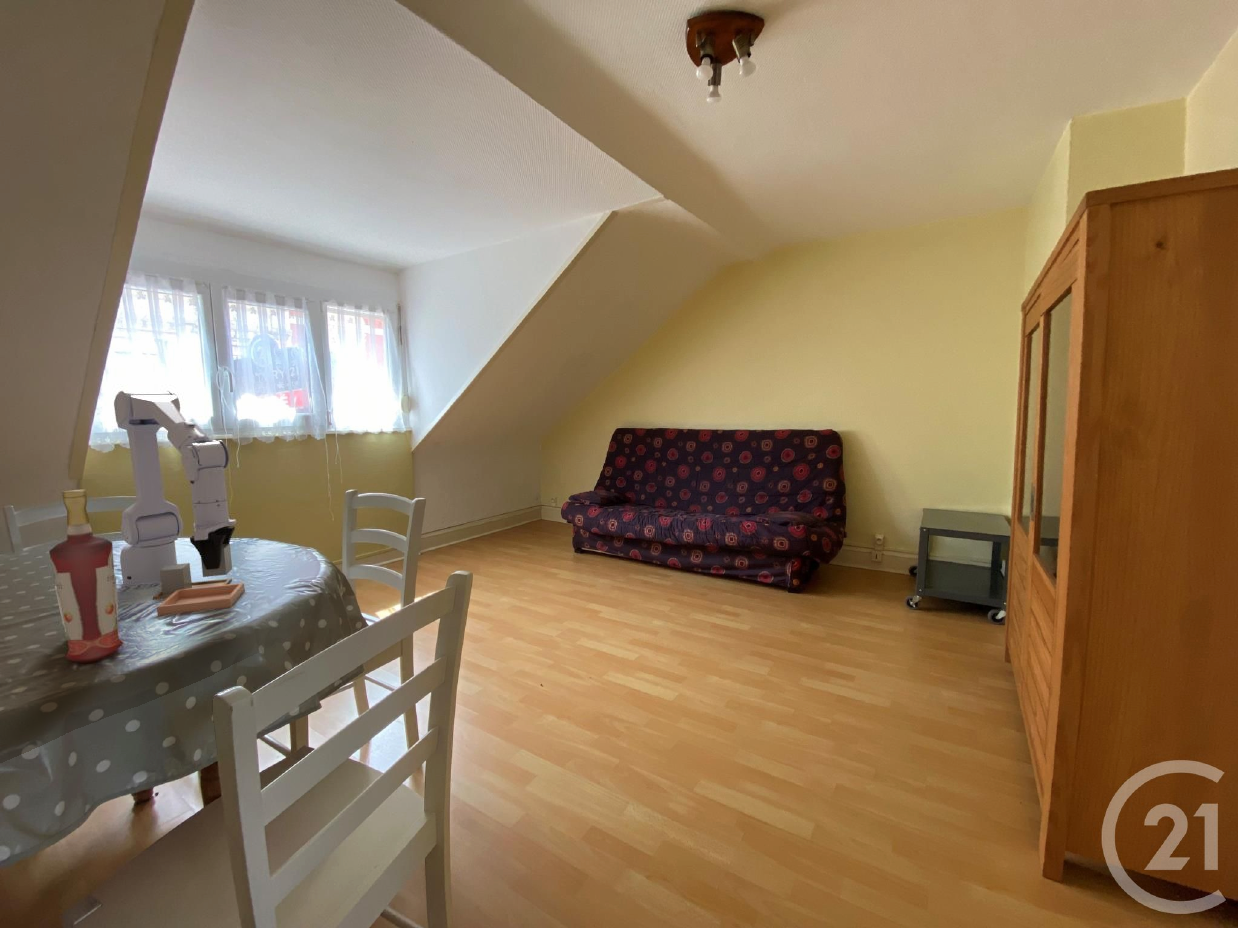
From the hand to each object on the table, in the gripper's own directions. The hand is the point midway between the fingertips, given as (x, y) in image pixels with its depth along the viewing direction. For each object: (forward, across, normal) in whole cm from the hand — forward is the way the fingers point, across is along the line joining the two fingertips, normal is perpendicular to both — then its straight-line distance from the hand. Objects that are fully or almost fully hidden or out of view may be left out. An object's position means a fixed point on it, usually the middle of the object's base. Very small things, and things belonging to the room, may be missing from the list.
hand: (216, 565), depth 113 cm
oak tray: (+8, +10, +7) cm, 14 cm away
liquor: (+8, -20, +12) cm, 25 cm away
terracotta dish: (+8, 0, +3) cm, 8 cm away
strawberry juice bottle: (+8, -10, +17) cm, 21 cm away
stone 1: (+8, +10, +10) cm, 16 cm away
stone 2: (+2, 0, 0) cm, 2 cm away
